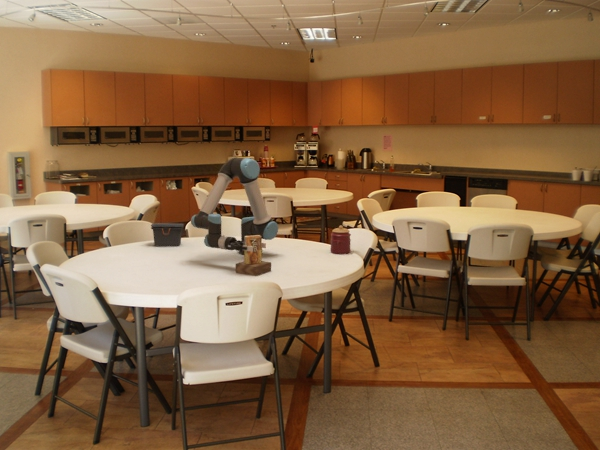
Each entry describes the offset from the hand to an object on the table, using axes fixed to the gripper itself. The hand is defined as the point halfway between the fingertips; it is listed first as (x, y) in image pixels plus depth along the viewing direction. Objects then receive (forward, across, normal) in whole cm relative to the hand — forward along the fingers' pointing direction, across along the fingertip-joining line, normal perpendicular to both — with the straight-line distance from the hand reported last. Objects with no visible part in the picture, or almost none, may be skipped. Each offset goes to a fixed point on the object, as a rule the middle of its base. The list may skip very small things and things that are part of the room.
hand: (259, 247), depth 345 cm
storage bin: (-98, +29, +15) cm, 103 cm away
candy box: (-4, 0, +10) cm, 10 cm away
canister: (+9, +76, +14) cm, 78 cm away
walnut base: (-4, 0, +14) cm, 15 cm away
